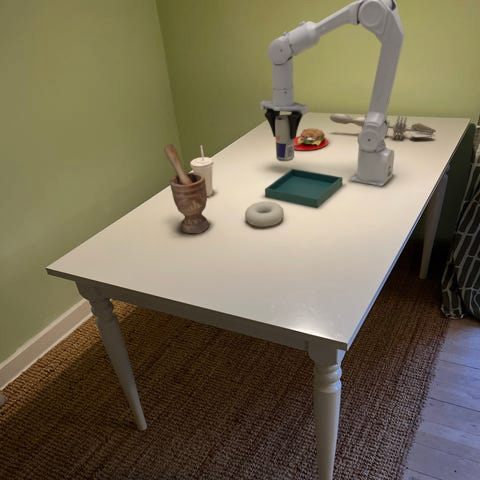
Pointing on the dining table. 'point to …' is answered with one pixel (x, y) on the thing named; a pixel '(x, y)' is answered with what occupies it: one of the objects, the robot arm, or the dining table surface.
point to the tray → (304, 187)
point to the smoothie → (204, 170)
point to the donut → (264, 214)
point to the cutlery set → (389, 126)
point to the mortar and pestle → (188, 194)
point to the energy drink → (283, 139)
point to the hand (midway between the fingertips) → (284, 137)
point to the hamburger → (310, 140)
